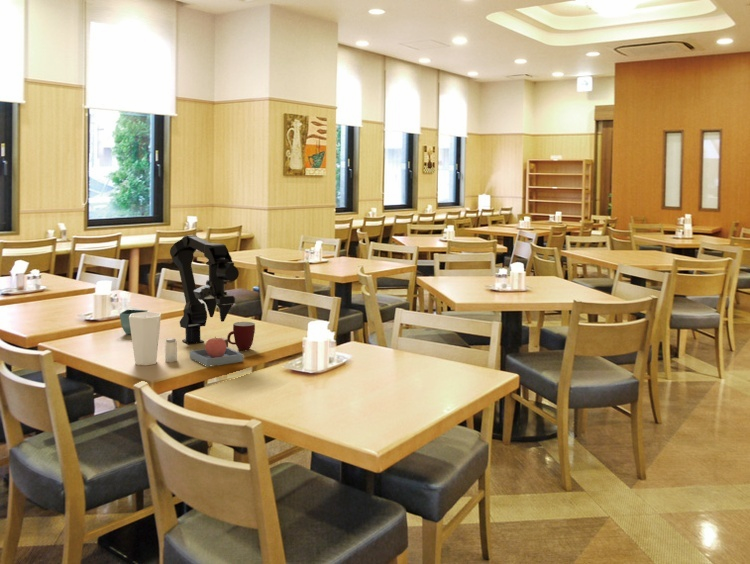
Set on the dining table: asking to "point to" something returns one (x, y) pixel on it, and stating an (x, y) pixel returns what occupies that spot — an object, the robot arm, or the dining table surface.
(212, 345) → the apple
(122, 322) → the flower pot
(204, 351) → the dish
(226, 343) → the walnut block
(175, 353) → the white shaker
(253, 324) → the mug
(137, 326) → the cup
